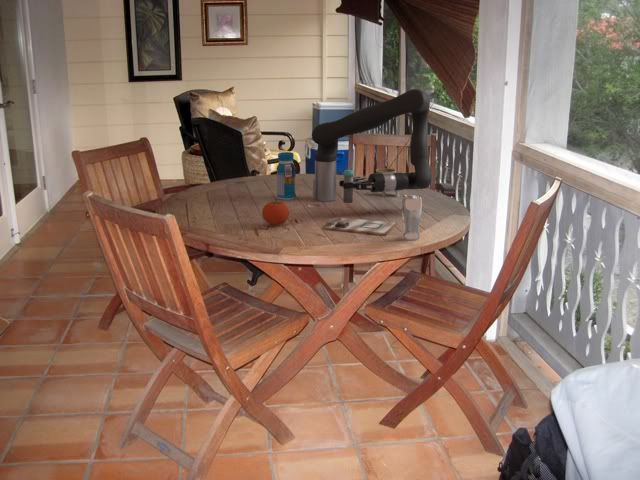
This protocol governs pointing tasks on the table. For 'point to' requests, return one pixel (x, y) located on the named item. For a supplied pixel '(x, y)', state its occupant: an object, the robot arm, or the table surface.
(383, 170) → the flower pot
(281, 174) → the beverage bottle
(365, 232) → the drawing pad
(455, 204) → the table surface
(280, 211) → the tomato
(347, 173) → the marker
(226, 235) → the table surface
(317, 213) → the table surface
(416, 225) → the beer glass
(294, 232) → the table surface
